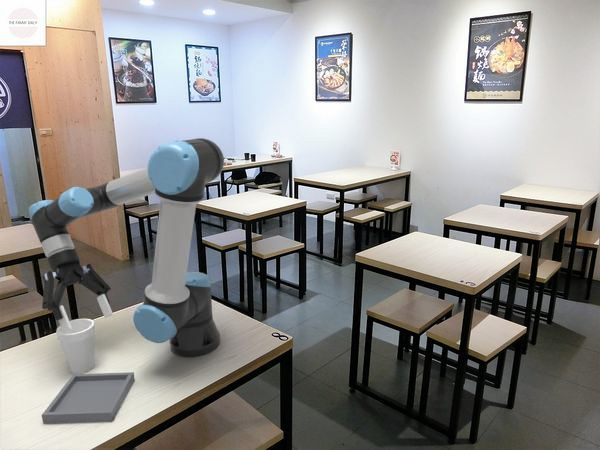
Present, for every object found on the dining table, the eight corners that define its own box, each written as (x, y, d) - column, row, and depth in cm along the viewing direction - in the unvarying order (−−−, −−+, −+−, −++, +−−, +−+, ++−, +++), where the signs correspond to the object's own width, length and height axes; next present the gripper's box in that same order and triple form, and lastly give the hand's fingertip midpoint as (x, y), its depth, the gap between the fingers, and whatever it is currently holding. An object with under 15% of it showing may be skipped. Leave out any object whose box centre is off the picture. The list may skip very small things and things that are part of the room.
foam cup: (105, 366, 124) (99, 325, 121) (72, 381, 118) (64, 338, 114) (91, 354, 130) (85, 315, 127) (58, 368, 124) (51, 327, 120)
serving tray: (134, 380, 118) (133, 372, 117) (112, 421, 102) (111, 412, 102) (74, 382, 117) (73, 374, 117) (43, 424, 102) (41, 415, 101)
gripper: (89, 252, 135) (115, 315, 133) (9, 266, 112) (38, 341, 110) (105, 242, 132) (132, 306, 130) (25, 254, 110) (56, 331, 107)
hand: (89, 323), depth 120 cm, fingers open, 13 cm apart
